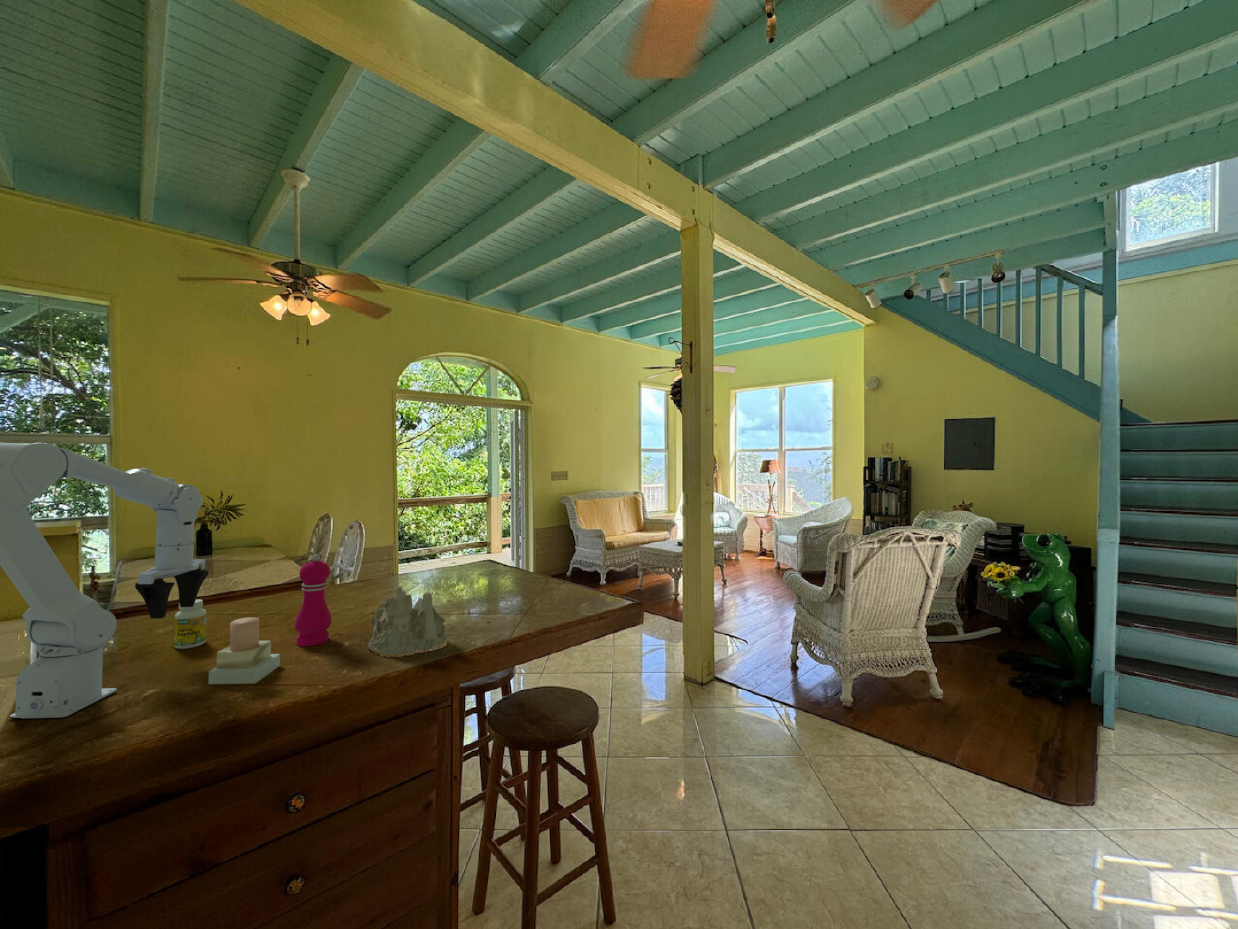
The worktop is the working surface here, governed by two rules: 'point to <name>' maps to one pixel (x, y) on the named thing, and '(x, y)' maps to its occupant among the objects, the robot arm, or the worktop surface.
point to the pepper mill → (313, 604)
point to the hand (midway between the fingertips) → (172, 612)
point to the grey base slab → (244, 672)
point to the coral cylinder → (244, 634)
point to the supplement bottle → (190, 626)
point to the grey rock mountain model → (406, 625)
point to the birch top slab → (243, 656)
